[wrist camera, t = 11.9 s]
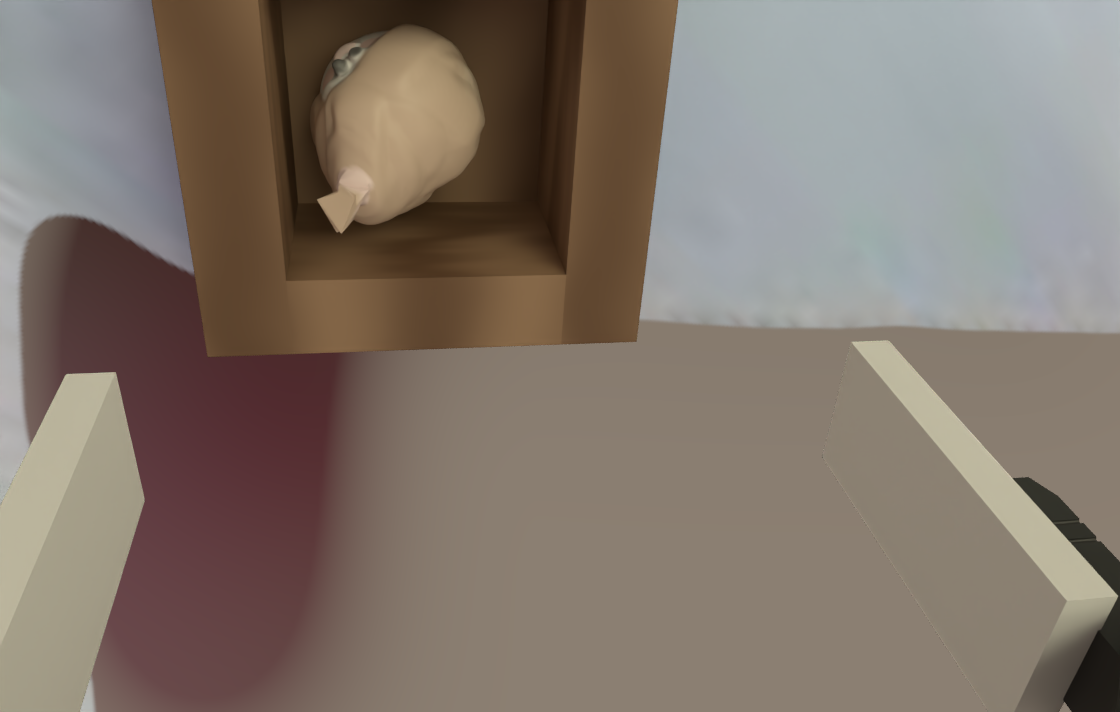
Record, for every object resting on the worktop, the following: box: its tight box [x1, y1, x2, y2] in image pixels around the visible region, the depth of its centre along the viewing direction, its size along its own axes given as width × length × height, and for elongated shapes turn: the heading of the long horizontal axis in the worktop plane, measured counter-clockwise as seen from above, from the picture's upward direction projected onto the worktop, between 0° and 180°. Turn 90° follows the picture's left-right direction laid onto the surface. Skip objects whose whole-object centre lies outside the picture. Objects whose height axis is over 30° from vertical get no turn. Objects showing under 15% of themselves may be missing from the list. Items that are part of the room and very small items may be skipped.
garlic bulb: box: [310, 24, 485, 234], centre depth 34 cm, size 7×6×8 cm
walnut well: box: [152, 0, 678, 357], centre depth 35 cm, size 16×16×8 cm
